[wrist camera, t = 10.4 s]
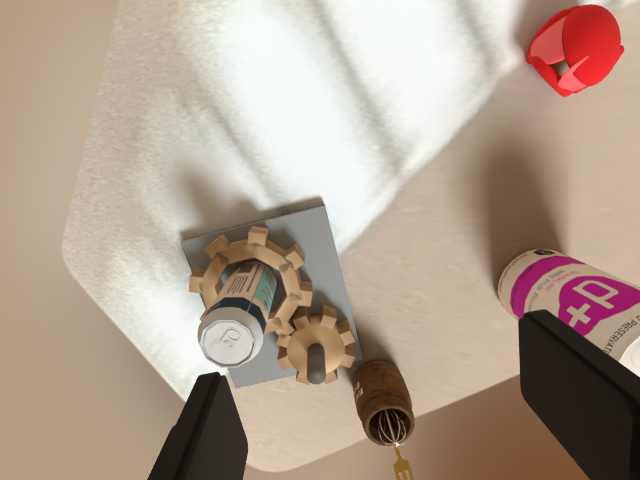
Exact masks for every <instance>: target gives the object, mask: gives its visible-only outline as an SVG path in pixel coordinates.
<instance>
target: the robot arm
mask: <svg viewBox="0 0 640 480" xmlns="http://www.w3.org/2000/svg"><path fill="white" fill-rule="evenodd" d="M518 326H519V355H520V384H521V392H522V395H523V397H524V399H525V401H526V402H527V403H528V405H529V406H530V407H531V408H532V410H533V411H534V412H535V413H536V414H537V416H538V417H539V418H540V419H541V420H542V422H543V423H544V424H545V425H546V426H547V428H548V429H549V430H550V431H551V433H552V434H553V435H554V436H555V437H556V439H557V440H558V441H559V442H560V444H561V445H562V446H563V447H564V448H565V450H566V451H567V452H568V453H569V455H570V456H571V457H572V458H573V459H574V461H576V463H577V464H578V466H579V467H580V468H581V469H582V470H583V471H584V473H585V474H586V475H587V476H588V478H589V479H590V480H640V377H639V376H637V375H636V374H635V373H633V372H632V371H630V370H629V369H628V368H626V367H625V366H624V365H622V364H621V363H619V362H618V361H617V360H615V359H614V358H613V357H611V356H610V355H608V354H607V353H606V352H604V351H603V350H602V349H600V348H599V347H597V346H596V345H595V344H593V343H592V342H590V341H589V340H588V339H586V338H585V337H584V336H582V335H581V334H579V333H578V332H577V331H575V330H574V329H573V328H571V327H570V326H568V325H567V324H566V323H564V322H563V321H562V320H560V319H559V318H557V317H556V316H555V315H553V314H552V313H550V312H549V311H548V310H546V309H541V310H536V311H530V312H526V313H524V315H523V318H520V319H519V322H518ZM247 454H248V442H247V438H246V435H245V432H244V429H243V426H242V423H241V420H240V417H239V414H238V411H237V408H236V405H235V402H234V399H233V396H232V393H231V390H230V387H229V384H228V381H227V378H226V377H225V376H224V375H223V376H221V375H220V374H219V372H213V373H208V374H203V375H199V376H198V378H197V380H196V382H195V384H194V387H193V389H192V391H191V393H190V395H189V397H188V400H187V402H186V404H185V406H184V408H183V411H182V413H181V415H180V417H179V419H178V421H177V424H176V425H175V426H173V428H172V429H171V431H170V433H169V435H168V437H167V439H166V441H165V443H164V445H163V447H162V450H161V452H160V454H159V456H158V458H157V460H156V462H155V464H154V467H153V469H152V471H151V473H150V475H149V477H148V479H147V480H243V475H244V470H245V465H246V460H247Z"/></svg>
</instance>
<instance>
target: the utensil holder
mask: <svg viewBox="0 0 640 480" xmlns="http://www.w3.org/2000/svg"><path fill="white" fill-rule="evenodd" d="M353 391H354V397H355V403H356V409H357V413H358V415H359V418H360V420H361V421H362V425H363V428H364V431H365V433H366V435H367V436H368V438H369V439H370V440H371V441H373V442H375V443H376V444H379V445H383V446H393V445H394V446H393V447H395V450H396V454H397V457H398V460H397V461H396V463H395V464H394V471H395V474H396V478H397V480H400V476H399V474H402V475H403V478H404V480H407V477H406V472H408V473H409V475H410V478H411V480H414V477H413V474H412V471H411V467H410V464H409V462H408V461H407V460H404V459H402V458H401V456H400V453H399V449H398V446H397V445H399V444H400V443H402V442H404V441H405V440H406V439H407V438H408V437H409V436H410V435H411V434H412V432H413V429H414V415H413V412H412V402H411V398H410V395H409V392H408V389H407V387H406V384H405V382H404V379H403V377H402V375H401V373H400V372H399V370H398V369H397V368H396V367H395V366H394V365H393V364H391V363H389V362H386V361H382V360H376V361H371V362H368V363H366V364H364V365H363V366H361V367H360V368H359V369H358V370H357V372H356V374H355V376H354V379H353ZM403 445H404V444H403ZM393 447H392V448H393Z"/></svg>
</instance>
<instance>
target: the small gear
mask: <svg viewBox="0 0 640 480" xmlns="http://www.w3.org/2000/svg"><path fill="white" fill-rule="evenodd" d="M336 320H337V317H336V310H335V308H334V307H331V306H328V305H325V304H323V305H322V308H321V310H320V313H311V314H310V312H309V310H308V308H307V306H301V307H299V308H296V310H295V311H294V315H293V322H294V324H295V331H294V332H292V333H291V334H289V335H285V334H282V333H281V334H282V335H281V334H280V336H279V335H278V336H277V342H276V345H279V352H278V358H277V361H278V363H279V364H280V366H281V368H282V370H286V369H288V368H291V367H294V368H295V369H296V370H297V373H296V381H298V382H301V383H304V384H309V382H310V383H312V384H320V383H322V382H325V384H327V383H330V382H332V381H335V380H337V379H338V377H337V367H338V366H339V365H341V366H345V367H348V368H350V367H351V365H352V363H353V361H354V359H355V354H354V349H353V344H351V343H353V342H355V339H354V334H353V330H352V327H351V325H350V323H349V321H348V319H345V320H343V321H340V322H338V323H337V322H336ZM284 335H285V336H286V337H284ZM282 336H283V337H284V338H283V339H282V338H281V337H282Z"/></svg>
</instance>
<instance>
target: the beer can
mask: <svg viewBox="0 0 640 480" xmlns="http://www.w3.org/2000/svg"><path fill="white" fill-rule="evenodd" d="M276 288H277V279H276V276H275V273H274V272H273V270H272V269H271V268H270V267H269V266H268V265H266V264H264V263H262V262H259V261H247V262H244V263H242V264H240V265H238V266H237V267H236V268H235V269H234V271H233V272H232V274H231V275H230V277H229V279H228V280H227V282H226V283H225V285H224V286H223V288H222V290H221V291H220V293H219V294H218V296H217V297H216V299H215V301H214V302H213V304H212V305H211V307H210V309H209V310H208V312H207V313H206V315H205V316H204V318H203V320H202V322H201V323H200V325H199V329H198V341H199V345H200V347H201V349H202V352H203V354H204V356H205V358H206V359H207V360H209V361H210V362H212V363H214V364H216V365H217V366H219V367H221V368H226V367H239V366H241V365H242V364H244V363H246V362H248V361H250V360H251V359H253V358H254V357H255V356H256V355H257V354H258V352H259V351H260V349H261V347H262V343H263V335H264V331H265V328H266V324H267V320H268V316H269V312H270V308H271V304H272V300H273V296H274V293H275V291H276Z"/></svg>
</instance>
